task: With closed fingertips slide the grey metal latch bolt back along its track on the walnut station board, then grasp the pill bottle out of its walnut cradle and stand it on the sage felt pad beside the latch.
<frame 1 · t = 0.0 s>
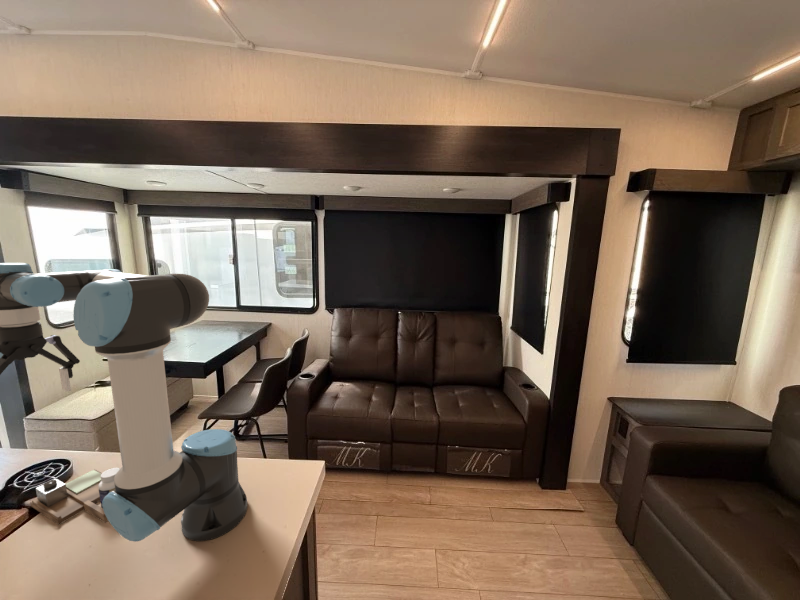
hand: (33, 400, 87), 28 cm above the kitchen counter, fingers open, 13 cm apart
latch bolt: (51, 491, 88), point 4 cm above the kitchen counter, slide at 0.0 cm
pill bottle: (115, 504, 89), resting in station
station: (91, 503, 89), on the kitchen counter
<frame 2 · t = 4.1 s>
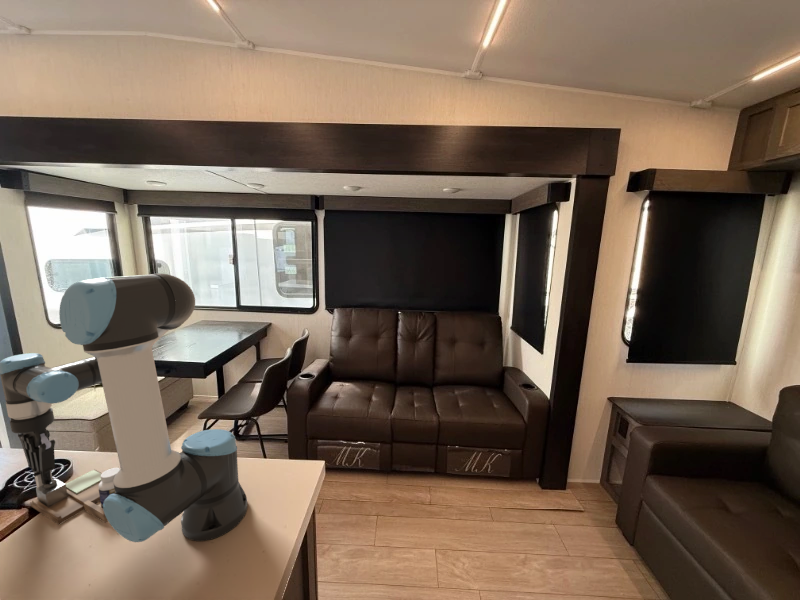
hand: (46, 491, 89), 2 cm above the kitchen counter, fingers closed
latch bolt: (51, 491, 88), point 4 cm above the kitchen counter, slide at 0.1 cm, touching gripper
everything else where it was.
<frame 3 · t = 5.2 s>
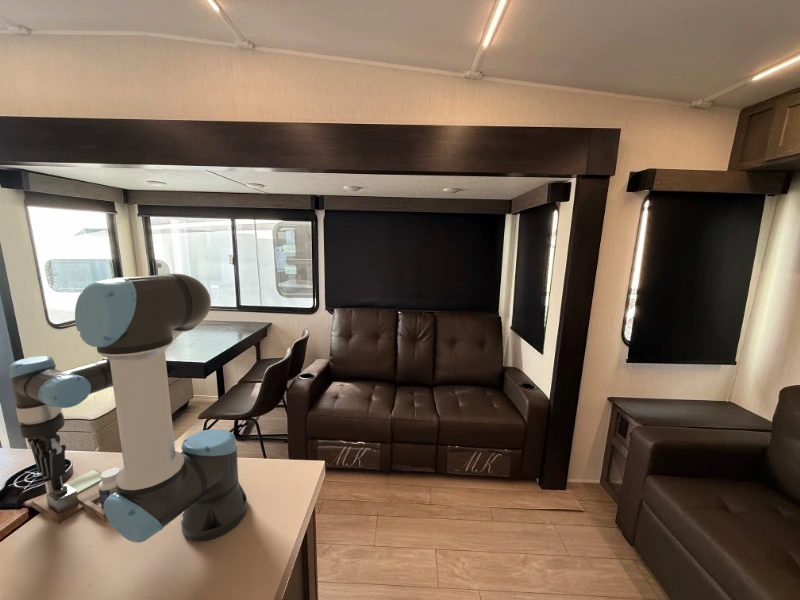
hand: (56, 497, 87), 2 cm above the kitchen counter, fingers closed
latch bolt: (62, 497, 86), point 4 cm above the kitchen counter, slide at 5.3 cm, touching gripper
everything else where it was.
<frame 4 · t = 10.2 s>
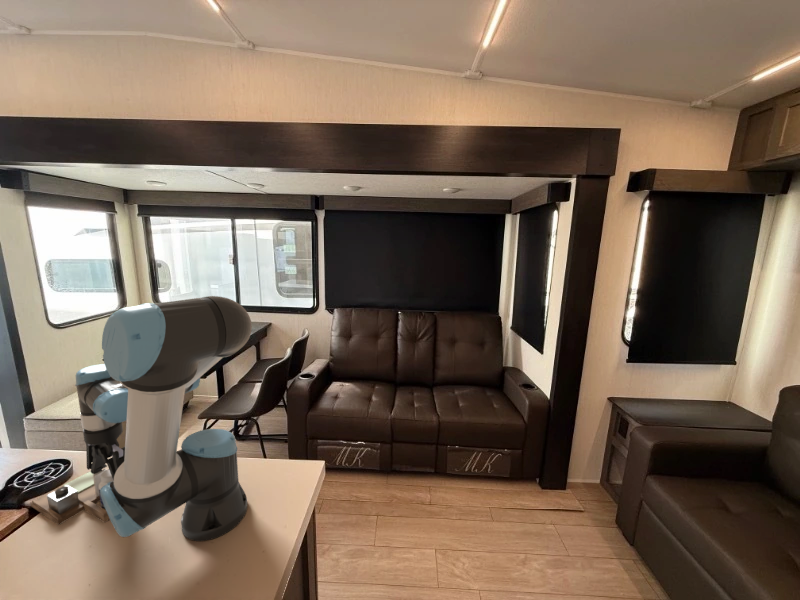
hand: (112, 498, 89), 1 cm above the kitchen counter, fingers open, 8 cm apart
latch bolt: (63, 498, 86), point 4 cm above the kitchen counter, slide at 5.7 cm
everything else where it was.
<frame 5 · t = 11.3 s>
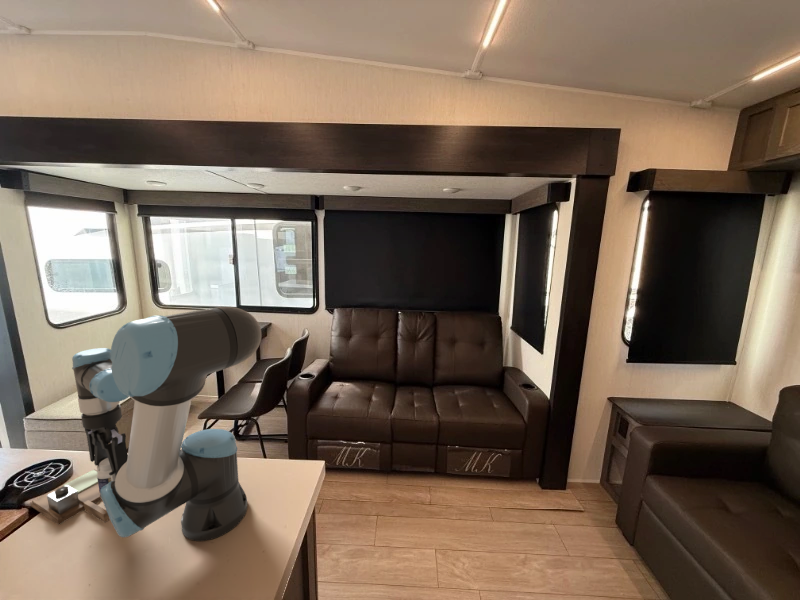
hand: (113, 488, 87), 5 cm above the kitchen counter, fingers closed on pill bottle, 5 cm apart
pill bottle: (114, 494, 88), point 3 cm above the kitchen counter, touching gripper
everything else where it was.
when the fingers open (3 cm above the kitchen counter, at t = 15.1 s): pill bottle stays where it is, resting on station.
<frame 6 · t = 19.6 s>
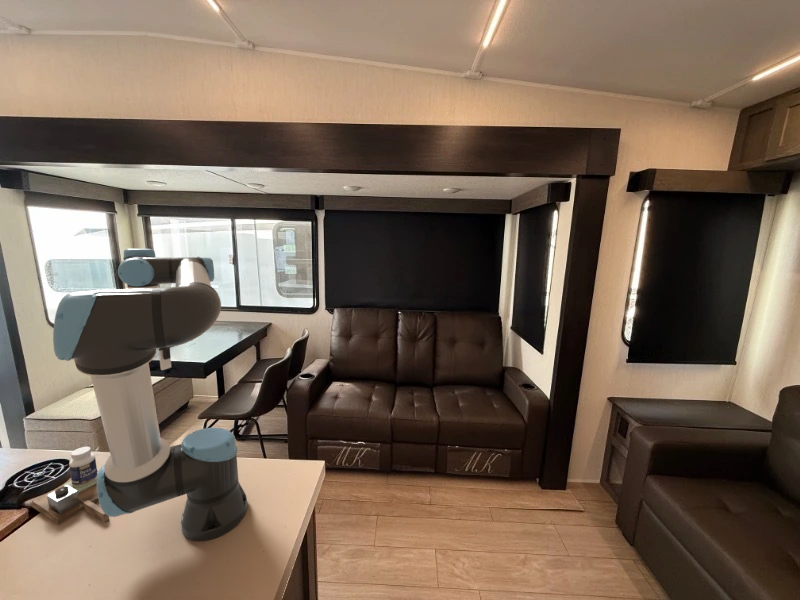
hand: (152, 364, 103), 32 cm above the kitchen counter, fingers open, 13 cm apart
pill bottle: (85, 481, 94), point 1 cm above the kitchen counter, touching station
everything else where it was.
at the end: latch bolt slide at 5.7 cm; pill bottle inside the target area (0.1 cm from its centre), point 1.4 cm above the kitchen counter; pill bottle tilted 0° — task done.
